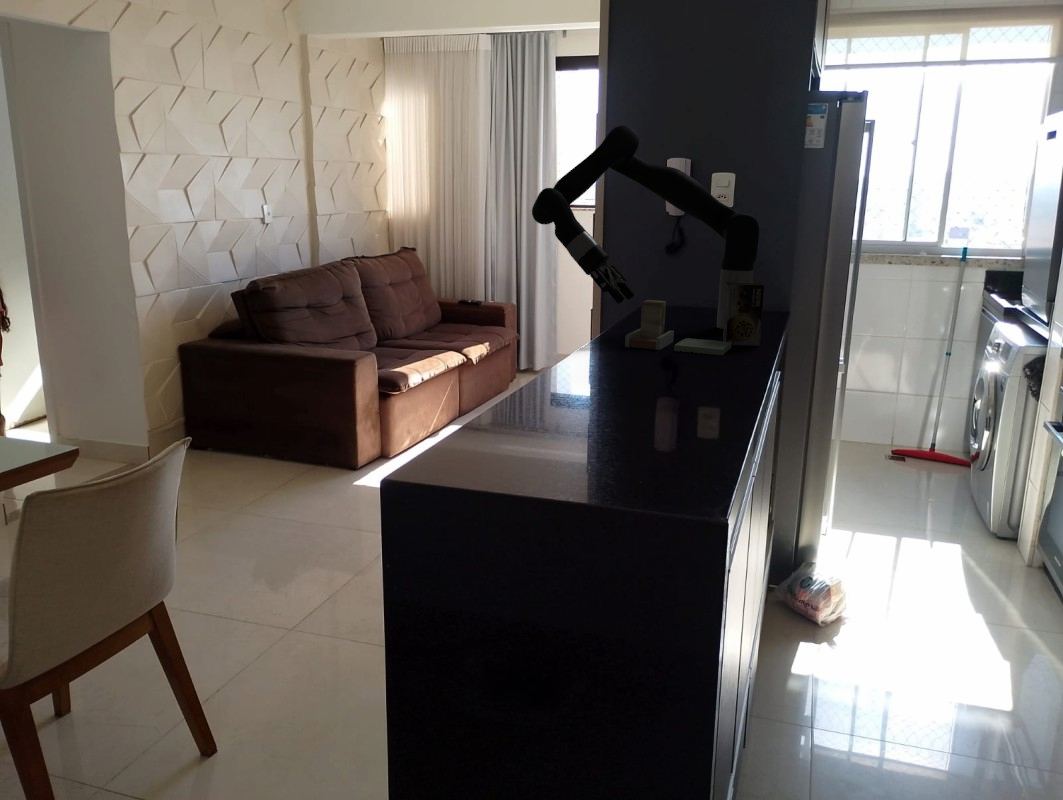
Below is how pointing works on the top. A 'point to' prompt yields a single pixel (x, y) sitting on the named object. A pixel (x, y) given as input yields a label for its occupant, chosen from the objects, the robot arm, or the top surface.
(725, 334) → the coffee box
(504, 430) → the top surface
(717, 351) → the pad
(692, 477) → the top surface
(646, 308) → the birch block
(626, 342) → the grey frame
